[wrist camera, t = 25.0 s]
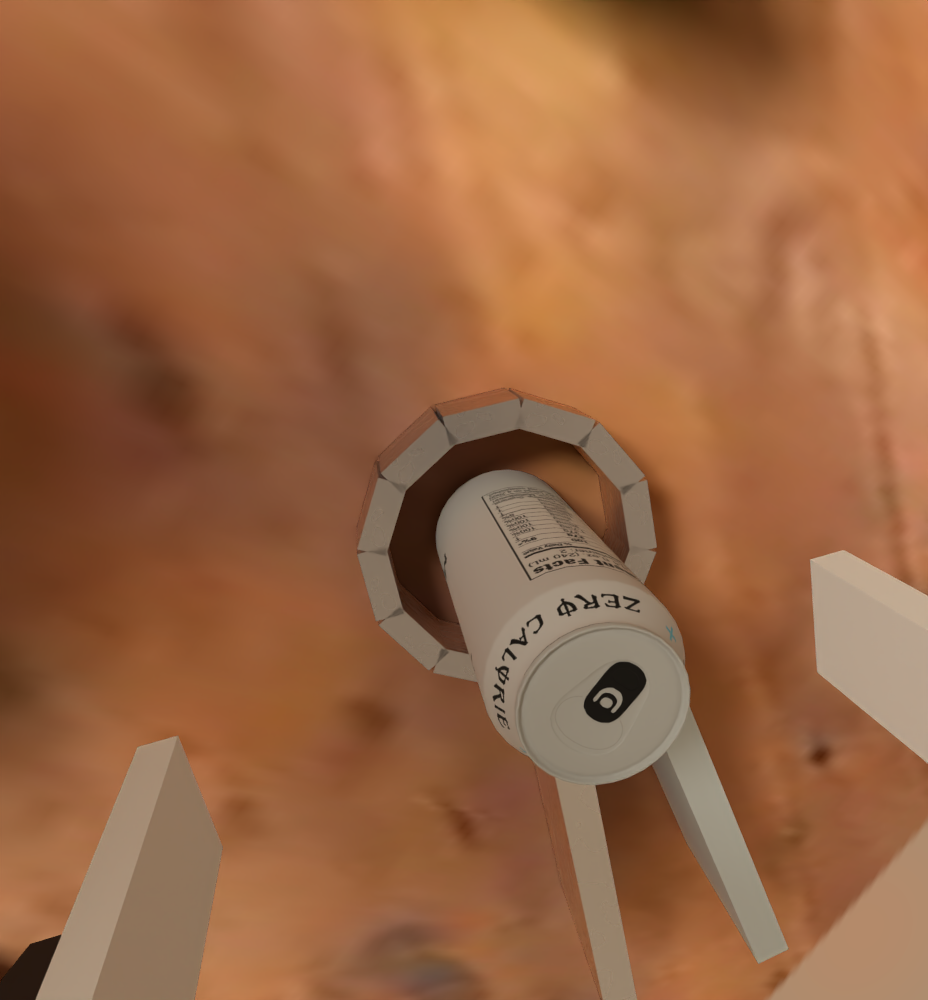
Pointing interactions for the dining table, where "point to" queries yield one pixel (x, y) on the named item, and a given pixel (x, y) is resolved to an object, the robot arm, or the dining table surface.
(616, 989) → the hinge fixed
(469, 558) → the energy drink can
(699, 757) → the hinge leaf
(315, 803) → the dining table surface
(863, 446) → the dining table surface
